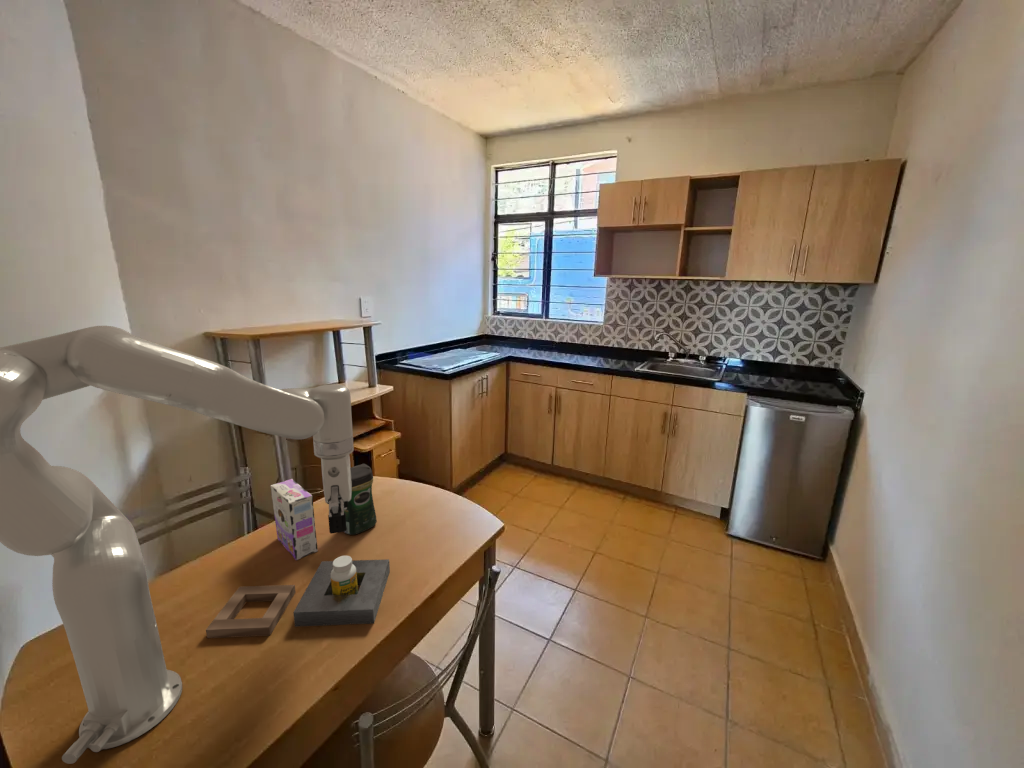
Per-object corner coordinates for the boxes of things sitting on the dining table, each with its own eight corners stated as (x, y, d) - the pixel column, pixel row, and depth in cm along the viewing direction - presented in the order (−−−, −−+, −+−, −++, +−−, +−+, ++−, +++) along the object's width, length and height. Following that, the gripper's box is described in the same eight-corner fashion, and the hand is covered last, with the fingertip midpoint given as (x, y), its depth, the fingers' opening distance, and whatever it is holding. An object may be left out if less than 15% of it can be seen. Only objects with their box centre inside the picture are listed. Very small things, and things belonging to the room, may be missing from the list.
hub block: (374, 623, 87) (373, 609, 86) (295, 626, 86) (293, 612, 85) (389, 571, 102) (389, 559, 102) (323, 573, 101) (321, 561, 100)
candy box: (319, 551, 109) (313, 495, 106) (295, 561, 105) (288, 503, 101) (298, 530, 119) (292, 477, 115) (276, 538, 114) (269, 484, 110)
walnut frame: (270, 635, 83) (268, 627, 83) (207, 638, 82) (205, 629, 82) (295, 592, 95) (294, 584, 95) (240, 594, 94) (239, 586, 94)
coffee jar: (367, 515, 127) (363, 458, 122) (380, 525, 122) (377, 467, 117) (336, 528, 120) (330, 468, 115) (349, 539, 115) (344, 478, 110)
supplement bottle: (351, 585, 98) (348, 550, 95) (362, 597, 94) (360, 560, 92) (328, 598, 94) (324, 561, 91) (339, 610, 90) (336, 572, 88)
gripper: (352, 459, 79) (357, 539, 83) (354, 429, 94) (358, 497, 98) (308, 463, 76) (316, 545, 80) (317, 432, 92) (323, 502, 96)
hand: (339, 519), depth 89 cm, fingers open, 9 cm apart
